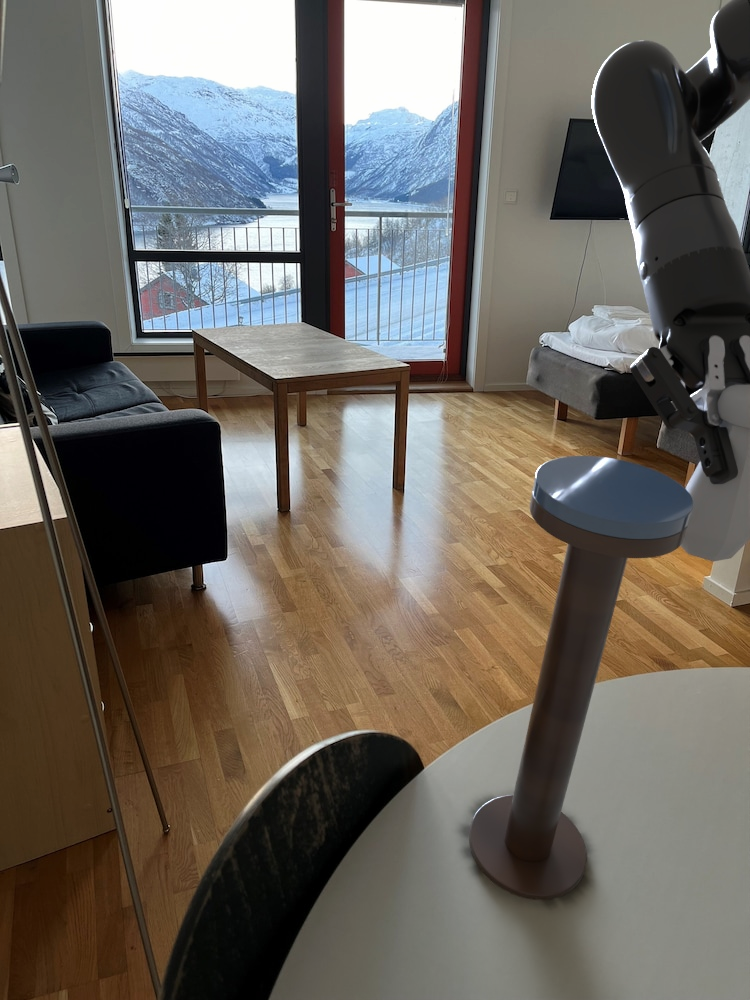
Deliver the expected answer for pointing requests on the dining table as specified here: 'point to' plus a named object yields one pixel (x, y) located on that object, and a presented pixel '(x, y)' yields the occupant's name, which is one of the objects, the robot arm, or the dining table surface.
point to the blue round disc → (613, 497)
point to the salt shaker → (723, 489)
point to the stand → (558, 719)
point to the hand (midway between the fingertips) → (749, 478)
